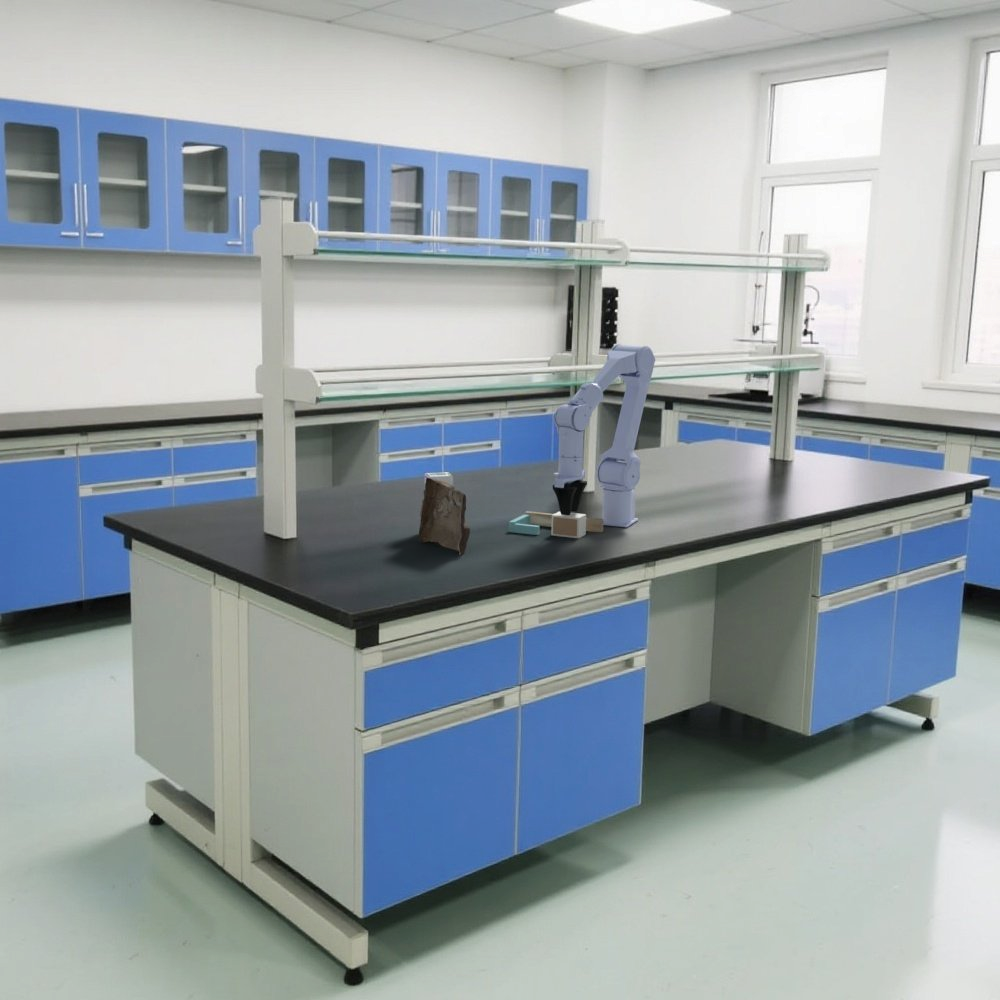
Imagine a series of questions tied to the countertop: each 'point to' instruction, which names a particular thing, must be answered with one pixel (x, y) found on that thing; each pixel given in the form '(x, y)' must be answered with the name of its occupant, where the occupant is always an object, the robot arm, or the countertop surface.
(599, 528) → the wall board
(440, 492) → the mineral sample
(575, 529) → the cabinet block
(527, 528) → the teal l-shaped block
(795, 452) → the countertop surface
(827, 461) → the countertop surface
